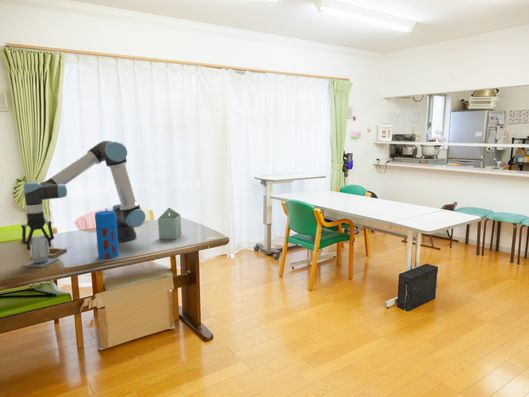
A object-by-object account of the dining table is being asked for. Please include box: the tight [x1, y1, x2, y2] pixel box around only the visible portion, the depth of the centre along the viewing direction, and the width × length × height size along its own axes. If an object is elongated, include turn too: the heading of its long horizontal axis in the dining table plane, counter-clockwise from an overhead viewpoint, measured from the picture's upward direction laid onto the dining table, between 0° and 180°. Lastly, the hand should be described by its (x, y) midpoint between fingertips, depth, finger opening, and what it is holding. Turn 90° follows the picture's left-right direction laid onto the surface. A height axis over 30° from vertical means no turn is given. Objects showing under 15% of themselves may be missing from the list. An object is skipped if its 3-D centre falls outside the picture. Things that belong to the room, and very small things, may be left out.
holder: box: [48, 247, 68, 259], centre depth 213 cm, size 12×12×2 cm
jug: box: [30, 234, 49, 263], centre depth 198 cm, size 13×7×13 cm, turn 40°
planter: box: [157, 207, 182, 240], centre depth 246 cm, size 16×8×20 cm, turn 133°
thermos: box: [94, 210, 120, 260], centre depth 210 cm, size 11×11×25 cm
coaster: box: [21, 258, 59, 268], centre depth 200 cm, size 12×12×1 cm
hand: (40, 254), depth 199 cm, fingers closed on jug, 7 cm apart
